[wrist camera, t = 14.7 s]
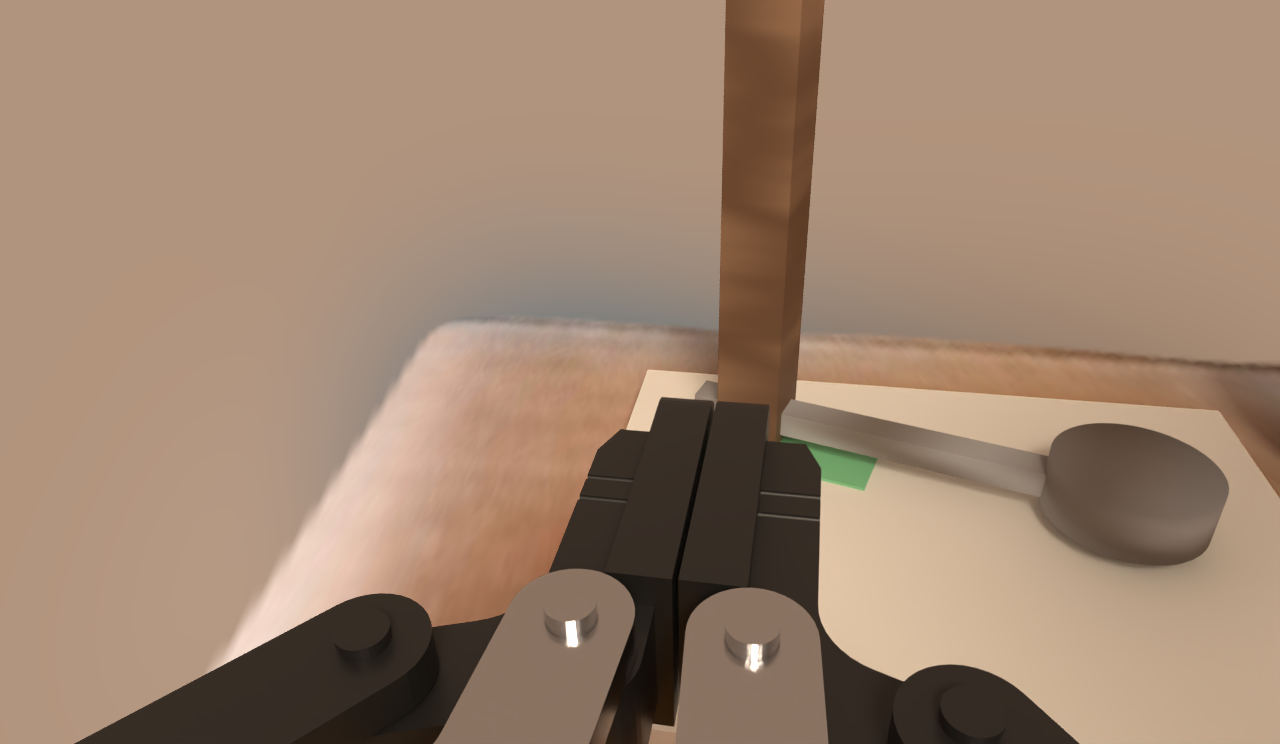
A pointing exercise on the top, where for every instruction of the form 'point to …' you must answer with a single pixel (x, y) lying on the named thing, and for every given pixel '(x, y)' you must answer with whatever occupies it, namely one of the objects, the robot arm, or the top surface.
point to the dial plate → (1041, 573)
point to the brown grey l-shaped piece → (767, 374)
